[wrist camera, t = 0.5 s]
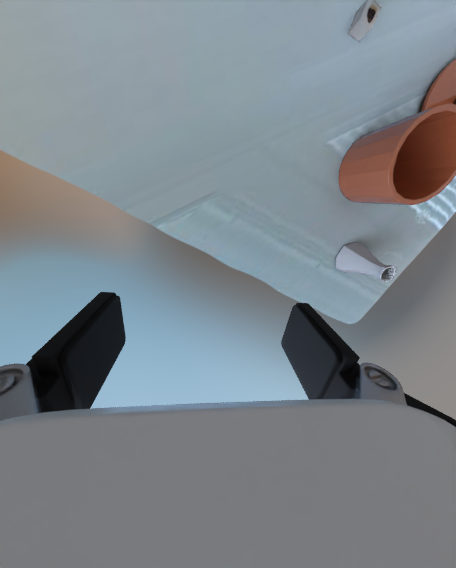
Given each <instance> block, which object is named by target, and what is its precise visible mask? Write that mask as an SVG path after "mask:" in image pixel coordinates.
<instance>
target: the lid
mask: <svg viewBox="0 0 456 568" xmlns="http://www.w3.org/2000/svg"><path fill="white" fill-rule="evenodd" d="M448 103H451V104H455V105H456V59H454V60H453V61H452V62H451V63H450V64H448V65H447V66H446V67H445V68H444V69H443V70H442V72H441V73H440V74H439V75H438V77H437V78H436V79H435V81H434V82H433V84H432V86H431V87H430V89H429V91H428V93H427V95H426V98H425V100H424V103H423V106H422V110H421V112H422V111H425V110H427V109H430V108H433V107H436V106H440V105H444V104H448Z"/></svg>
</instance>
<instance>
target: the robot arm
mask: <svg viewBox="0 0 456 568" xmlns="http://www.w3.org/2000/svg"><path fill="white" fill-rule="evenodd" d="M124 344H125V330H124V324H123V316H122V309H121V302H120V297H119V296H116V294H115V293H110V292H100V293H99V294H98V295H97V296H96V297H95V298H94V299H93V300H92V301H91V302H90V303H88V304H87V305H86V306H85V307H84V308H83V309H82V310H81V311H80V312H79V313H78V314H77V315H76V316H75V317H74V318H73V319H72V320H70V321H69V322H68V323H67V324H66V325H65V326H64V327H63V328H62V329H61V330H60V331H59V332H58V333H57V334H56V335H54V336H53V337H52V338H51V340H49V341H48V342H47V343H46V344H45V345H44V346H43V347H42V348H41V349H40V350H39V351H37V352H36V353H35V354H34V355H33V356H32V359H31V360H30V361H29V362H28V363H27V364H26V365H24V364H9V365H4V366H1V367H0V568H456V420H454V419H453V418H451V417H449V416H447V415H445V414H443V413H441V412H439V411H438V410H436V409H434V408H432V407H430V406H428V405H426V404H424V403H422V402H420V401H418V400H416V399H414V398H413V397H410V396H409V395H407V394H405V393H404V392H403V389H402V386H401V384H400V382H399V381H398V380H397V379H396V378H395V377H394V376H393V375H392V374H391V373H389V372H388V371H386V370H385V369H383V368H381V367H380V366H377V365H375V364H372V363H363V364H361V365H359V364H358V363H357V362H358V360H359V356H358V355H357V354H356V353H355V352H354V351H353V350H352V349H351V348H350V347H349V346H348V345H347V344H346V343H345V342H344V341H343V340H342V339H341V337H340V336H339V335H338V334H337V333H336V332H335V331H334V330H333V329H332V328H331V327H330V326H329V325H328V324H327V323H326V322H325V321H324V320H323V319H322V318H321V316H320V315H319V314H318V313H317V312H316V311H315V310H314V309H313V308H312V307H311V306H310V305H309V304H308V303H297V304H296V305H294V306H293V308H292V311H291V314H290V317H289V320H288V323H287V326H286V329H285V332H284V335H283V338H282V343H281V344H282V347H283V349H284V351H285V353H286V355H287V357H288V359H289V361H290V363H291V365H292V367H293V369H294V371H295V373H296V375H297V377H298V378H299V381H300V383H301V385H302V387H303V388H304V391H305V392H306V394H307V396H308V398H309V400H282V401H256V402H255V401H253V402H228V403H227V402H226V403H200V404H176V405H155V406H154V405H153V406H131V407H111V408H95V409H90V407H91V406H92V404H93V402H94V400H95V398H96V396H97V395H98V392H99V391H100V389H101V387H102V385H103V383H104V382H105V380H106V378H107V376H108V374H109V372H110V370H111V368H112V366H113V365H114V363H115V361H116V359H117V357H118V355H119V353H120V351H121V350H122V348H123V346H124Z"/></svg>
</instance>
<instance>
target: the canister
mask: <svg viewBox="0 0 456 568" xmlns="http://www.w3.org/2000/svg"><path fill="white" fill-rule="evenodd" d="M455 175H456V105H455V104H451V103H448V104H444V105H440V106H436V107H433V108H430V109H427V110H425V111H422V112H420V113H417V114H414V115H412V116H409V117H407V118H404V119H402V120H399V121H396V122H394V123H391V124H389V125H386V126H383V127H381V128H378V129H376V130H373V131H371V132H368V133H367V134H365V135H363V136H362V137H360V138H359V139H358V140H357V141H355V142H354V143H353V145H352V146H351V147H350V148H349V150H348V151H347V153H346V154H345V156H344V158H343V161H342V163H341V167H340V171H339V185H340V189H341V191H342V193H343V195H344V196H345V197H346V198H347V199H349V200H350V201H353V202H359V203H376V204H399V205H414V204H418V203H422V202H425V201H427V200H429V199H431V198H432V197H434V196H436V195H437V194H439V193H440V192H441V191H442V190H443V189H444V188H445V187H446V186H447V185H448V184H449V183H450V182H451V181H452V180H453V178H454V177H455Z"/></svg>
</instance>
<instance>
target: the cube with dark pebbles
mask: <svg viewBox="0 0 456 568" xmlns="http://www.w3.org/2000/svg"><path fill="white" fill-rule="evenodd" d="M381 8H382V7H381V6H380V5H378V4H377V3H376V2H375V1H374V0H367V1H366V2H365V3H364V4H363V5H362V7H361V8H360V9H359V10H358V11H357V13H356V15H355V18H354V20H353V22H352V25H351V27H350V29H349V32H348V34H350V35H351V36H352V37H354V38H355V39H356V40H358V41H360V40H361V39H362V38H363V37H364V36H365V35H367V33H368V32H369V31H370V30H371V29H372V28H373V25H374V23H375V21H376V19H377V17H378V14H379V12H380V10H381Z"/></svg>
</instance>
